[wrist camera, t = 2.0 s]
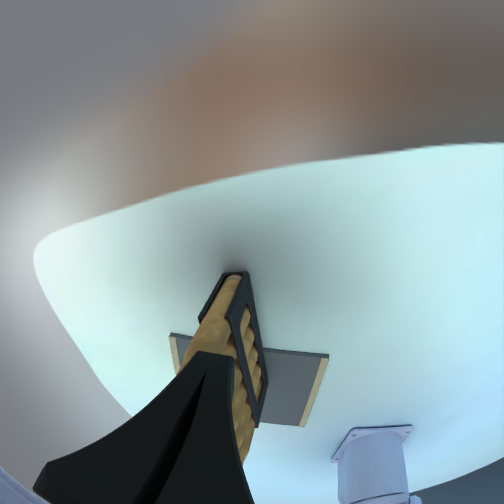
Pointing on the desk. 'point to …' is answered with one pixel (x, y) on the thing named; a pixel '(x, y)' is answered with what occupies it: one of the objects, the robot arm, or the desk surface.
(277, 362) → the mat
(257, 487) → the desk surface
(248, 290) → the ammunition clip
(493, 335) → the desk surface
